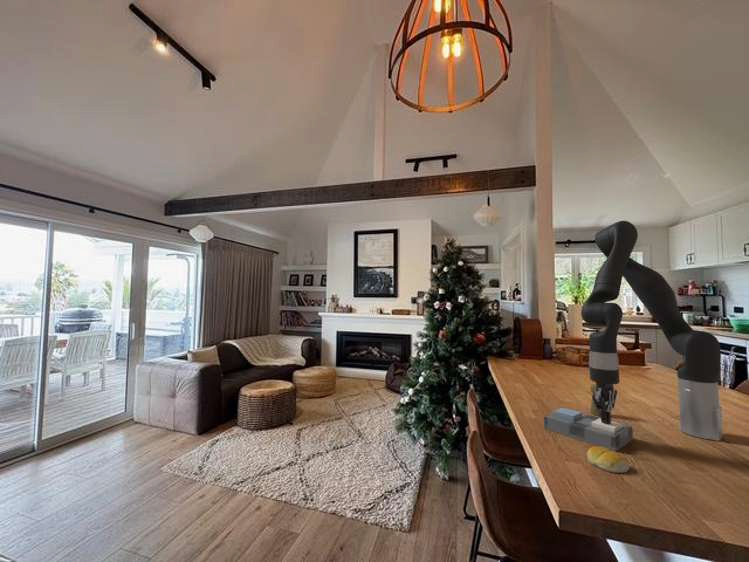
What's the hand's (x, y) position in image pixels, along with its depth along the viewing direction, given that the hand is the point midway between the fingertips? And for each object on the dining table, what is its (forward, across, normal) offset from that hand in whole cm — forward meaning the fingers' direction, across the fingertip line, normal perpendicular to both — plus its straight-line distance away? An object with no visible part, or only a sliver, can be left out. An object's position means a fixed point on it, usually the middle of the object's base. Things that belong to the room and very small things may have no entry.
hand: (606, 423), depth 99 cm
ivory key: (+2, 0, 0) cm, 2 cm away
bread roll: (+6, -17, -6) cm, 19 cm away
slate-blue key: (+2, 0, +11) cm, 11 cm away
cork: (+5, +24, +10) cm, 27 cm away
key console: (+5, 0, +6) cm, 8 cm away
